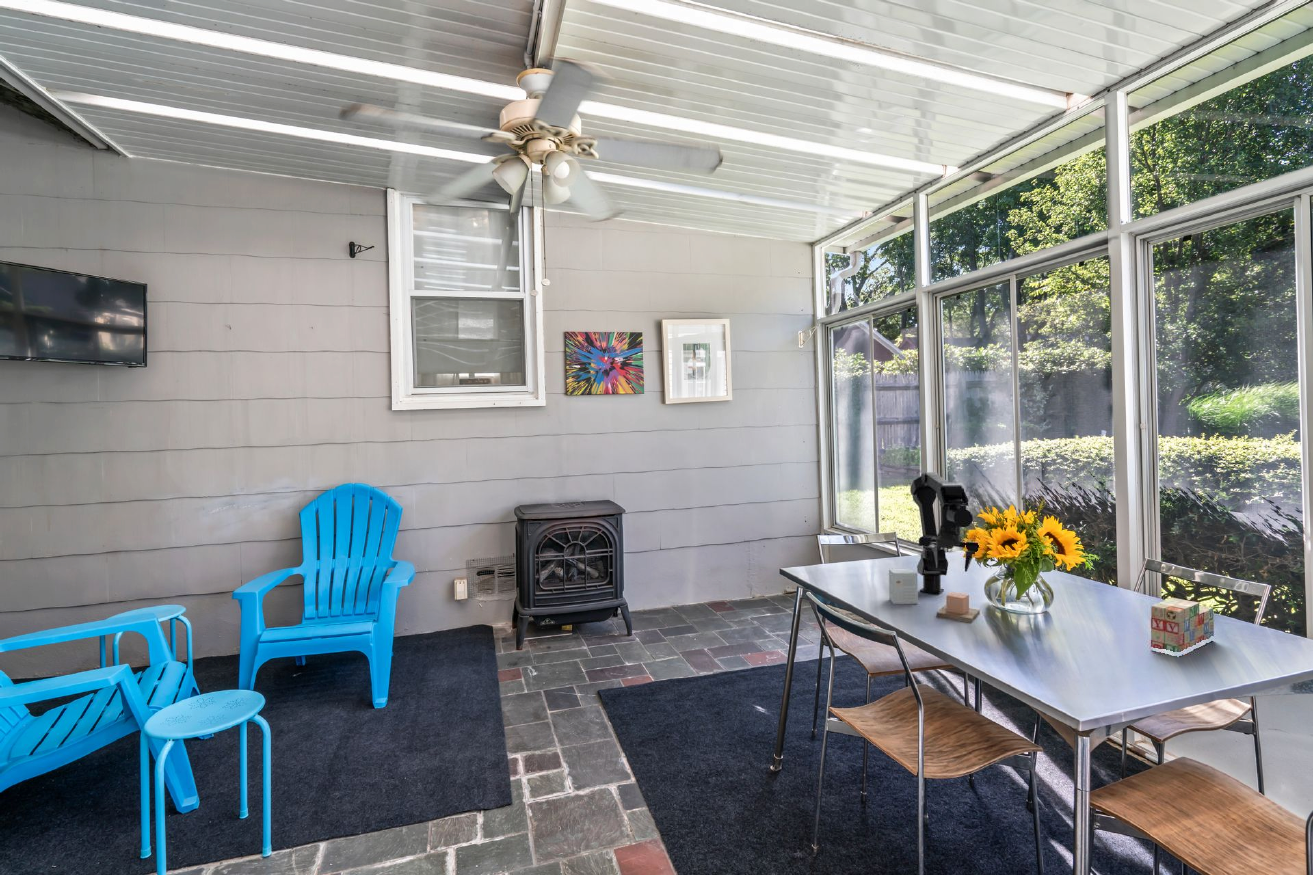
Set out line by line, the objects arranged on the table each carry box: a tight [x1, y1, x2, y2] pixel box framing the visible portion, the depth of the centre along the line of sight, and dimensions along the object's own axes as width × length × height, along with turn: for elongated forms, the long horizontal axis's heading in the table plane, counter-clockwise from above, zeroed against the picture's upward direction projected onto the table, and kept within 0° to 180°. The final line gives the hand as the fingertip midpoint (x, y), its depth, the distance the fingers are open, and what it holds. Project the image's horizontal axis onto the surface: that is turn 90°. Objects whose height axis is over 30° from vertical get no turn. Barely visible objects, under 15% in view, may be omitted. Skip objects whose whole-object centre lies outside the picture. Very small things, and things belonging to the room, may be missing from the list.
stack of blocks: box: [1150, 597, 1215, 652], centre depth 173 cm, size 21×6×12 cm, turn 121°
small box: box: [888, 568, 919, 605], centre depth 217 cm, size 8×6×10 cm
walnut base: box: [936, 604, 981, 624], centre depth 202 cm, size 10×10×2 cm
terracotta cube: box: [945, 591, 970, 614], centre depth 202 cm, size 5×5×5 cm
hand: (950, 569), depth 211 cm, fingers open, 9 cm apart
